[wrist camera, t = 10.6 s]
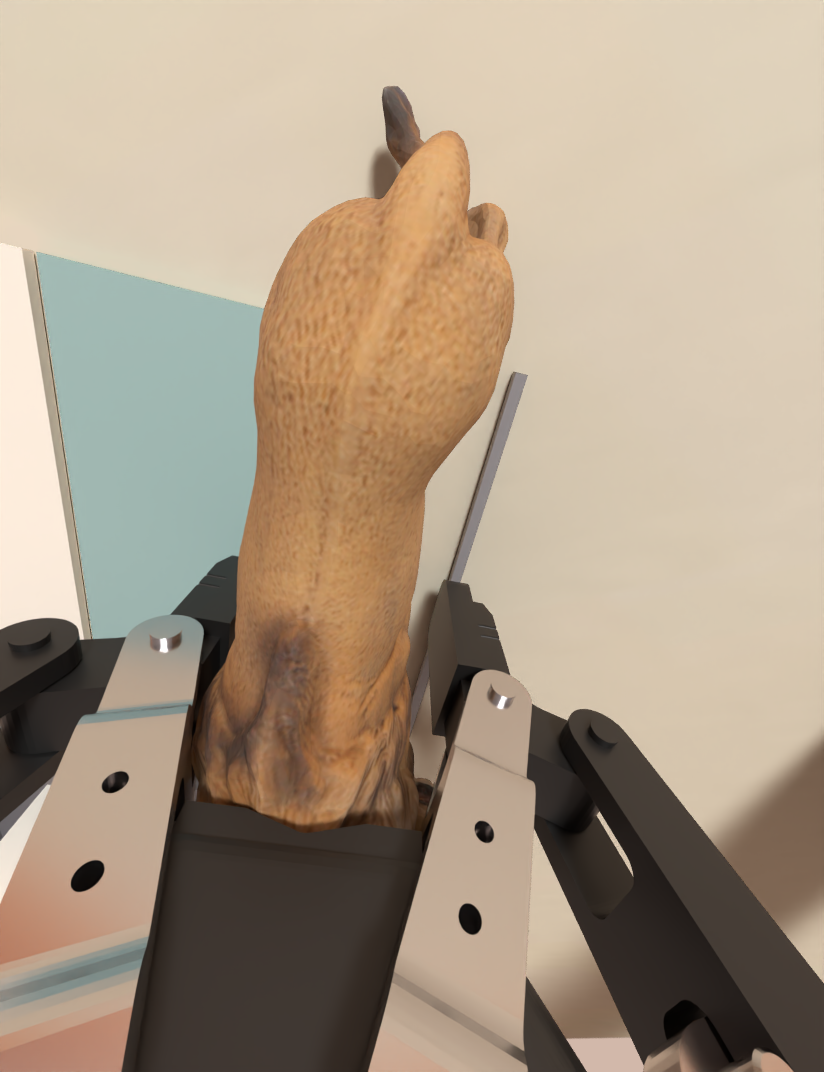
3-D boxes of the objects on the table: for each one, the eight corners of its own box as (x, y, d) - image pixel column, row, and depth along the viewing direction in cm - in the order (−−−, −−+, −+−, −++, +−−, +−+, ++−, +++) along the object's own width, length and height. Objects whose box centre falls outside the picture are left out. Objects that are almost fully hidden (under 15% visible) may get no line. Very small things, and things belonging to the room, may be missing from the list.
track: (524, 374, 10) (527, 375, 10) (408, 734, 16) (408, 741, 16) (-230, 185, 8) (-251, 179, 8) (-56, 664, 14) (-66, 670, 14)
